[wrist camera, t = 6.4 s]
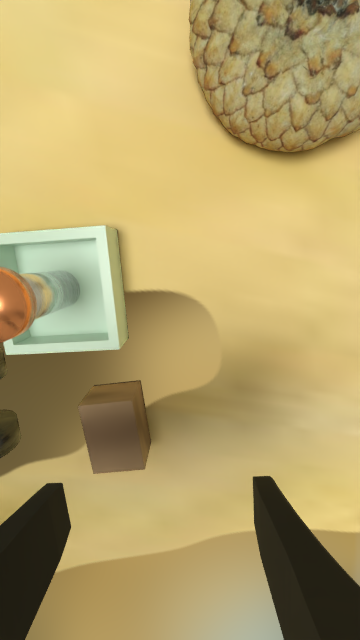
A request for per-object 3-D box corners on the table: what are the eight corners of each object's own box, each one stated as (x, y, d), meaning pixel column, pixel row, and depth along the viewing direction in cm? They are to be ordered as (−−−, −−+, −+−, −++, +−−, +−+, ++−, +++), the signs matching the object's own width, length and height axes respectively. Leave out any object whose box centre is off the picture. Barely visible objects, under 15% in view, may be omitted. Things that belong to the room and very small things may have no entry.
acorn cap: (257, -134, 14) (146, -197, 9) (524, -170, 11) (608, -307, 5) (231, 102, 22) (163, 145, 17) (383, 125, 19) (360, 189, 13)
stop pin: (89, 311, 19) (30, 341, 12) (42, 314, 19) (-43, 346, 12) (82, 262, 18) (15, 264, 11) (33, 266, 18) (-62, 270, 11)
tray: (128, 337, 20) (119, 349, 17) (28, 343, 20) (5, 354, 18) (116, 229, 18) (105, 225, 16) (8, 237, 18) (-20, 234, 16)
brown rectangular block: (151, 440, 22) (144, 469, 19) (106, 444, 22) (93, 473, 19) (140, 380, 20) (132, 400, 18) (94, 385, 21) (77, 406, 18)
